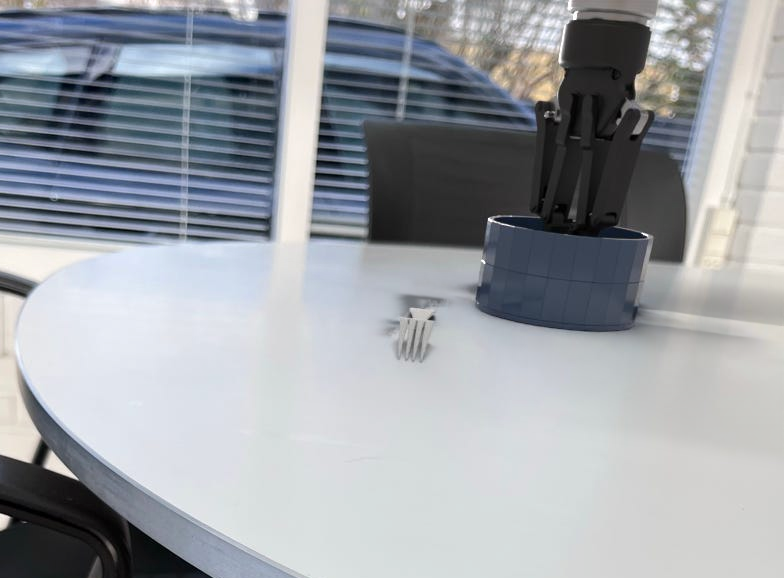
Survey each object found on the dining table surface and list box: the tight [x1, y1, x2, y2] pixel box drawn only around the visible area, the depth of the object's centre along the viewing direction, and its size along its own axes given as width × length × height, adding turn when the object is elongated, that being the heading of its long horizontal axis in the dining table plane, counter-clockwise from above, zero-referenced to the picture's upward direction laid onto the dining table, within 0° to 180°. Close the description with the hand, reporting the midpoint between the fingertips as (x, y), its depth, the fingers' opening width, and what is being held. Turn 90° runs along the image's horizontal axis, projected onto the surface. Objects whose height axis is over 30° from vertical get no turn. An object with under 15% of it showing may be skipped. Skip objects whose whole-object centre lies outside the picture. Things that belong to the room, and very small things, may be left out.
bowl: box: [474, 215, 655, 332], centre depth 102 cm, size 15×15×8 cm
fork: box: [397, 307, 437, 363], centre depth 89 cm, size 3×21×3 cm, turn 172°
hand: (556, 298), depth 103 cm, fingers closed on stick, 2 cm apart
